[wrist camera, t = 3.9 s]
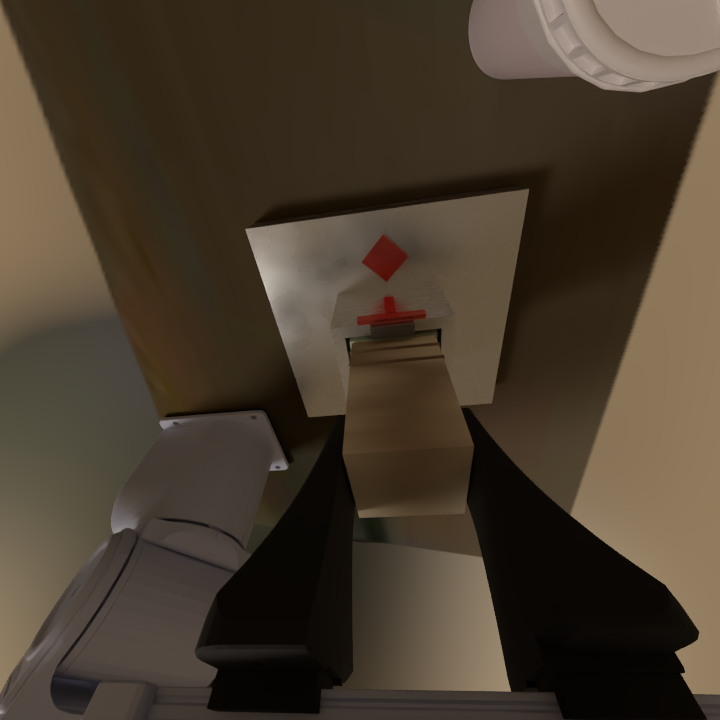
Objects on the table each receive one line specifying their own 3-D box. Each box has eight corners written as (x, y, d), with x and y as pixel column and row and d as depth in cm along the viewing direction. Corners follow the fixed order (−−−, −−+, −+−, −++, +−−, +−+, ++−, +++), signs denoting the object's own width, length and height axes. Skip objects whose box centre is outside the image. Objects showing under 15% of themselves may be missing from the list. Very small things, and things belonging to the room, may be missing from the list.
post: (361, 386, 18) (357, 519, 12) (351, 326, 16) (338, 452, 9) (431, 380, 18) (466, 514, 11) (432, 317, 15) (477, 443, 9)
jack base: (311, 403, 25) (297, 466, 20) (254, 222, 17) (208, 254, 12) (485, 389, 23) (515, 453, 19) (516, 185, 15) (584, 203, 10)
